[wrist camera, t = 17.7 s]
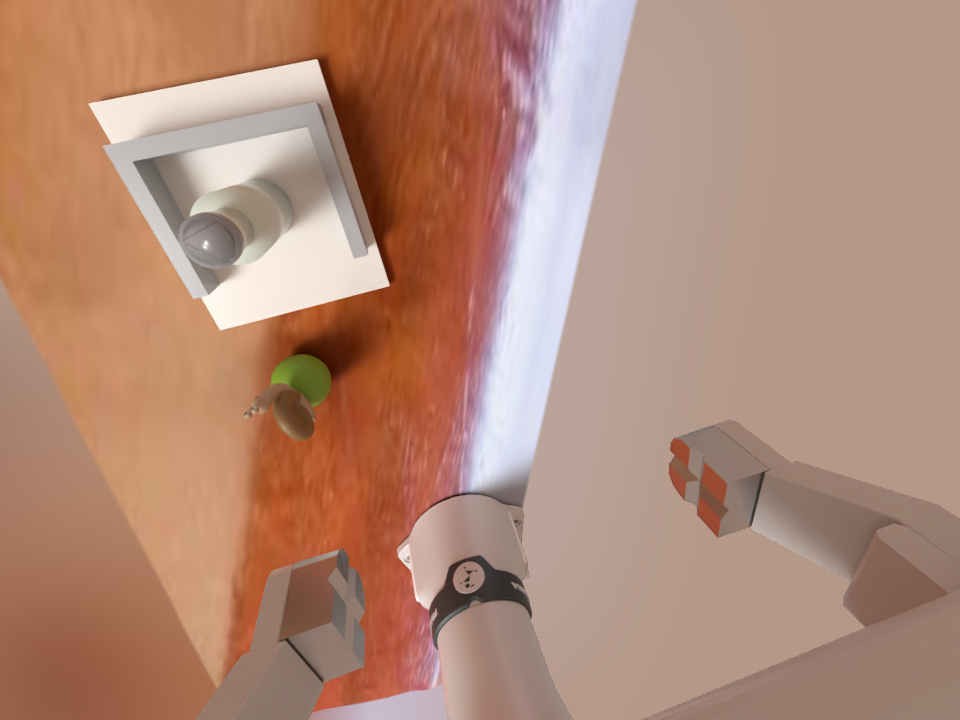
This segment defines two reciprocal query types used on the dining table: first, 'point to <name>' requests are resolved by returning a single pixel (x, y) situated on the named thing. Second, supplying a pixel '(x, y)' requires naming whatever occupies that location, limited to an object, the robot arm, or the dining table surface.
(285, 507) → the dining table surface
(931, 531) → the robot arm
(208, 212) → the pale green bottle
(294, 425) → the snail figurine
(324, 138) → the u stand
